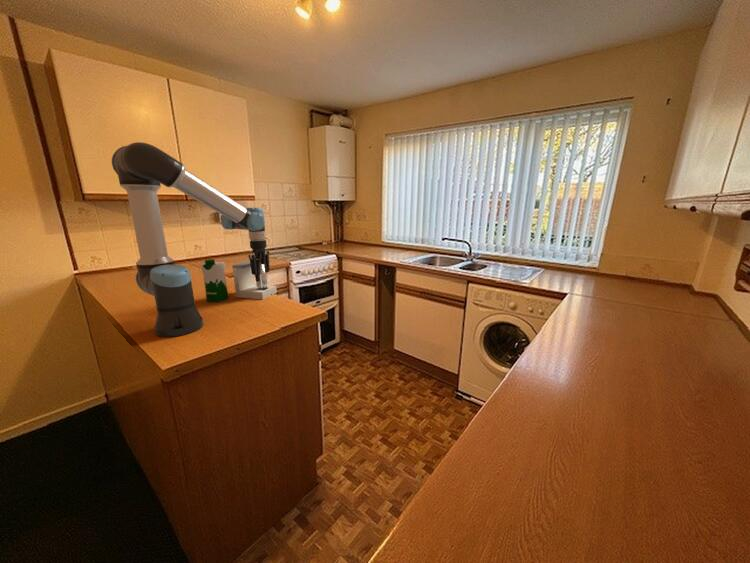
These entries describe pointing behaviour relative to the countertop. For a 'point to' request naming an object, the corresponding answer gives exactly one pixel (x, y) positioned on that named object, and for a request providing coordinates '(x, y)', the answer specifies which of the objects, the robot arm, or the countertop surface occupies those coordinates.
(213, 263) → the milk carton
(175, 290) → the robot arm
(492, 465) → the countertop surface
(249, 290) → the l-shaped bracket
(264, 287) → the peg
